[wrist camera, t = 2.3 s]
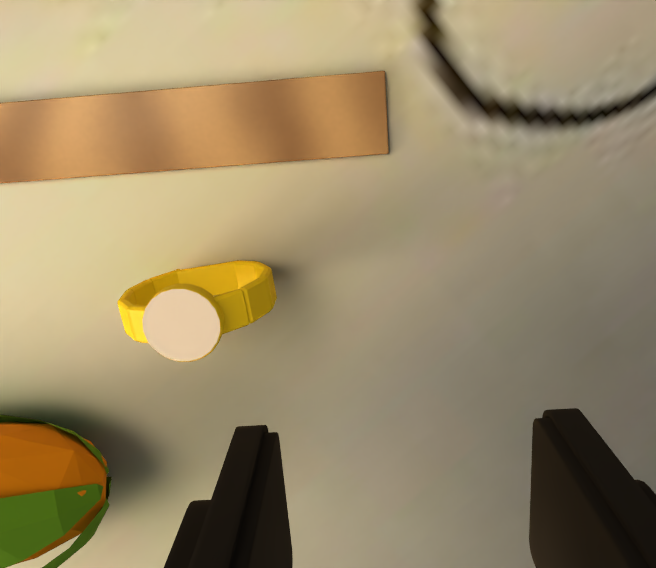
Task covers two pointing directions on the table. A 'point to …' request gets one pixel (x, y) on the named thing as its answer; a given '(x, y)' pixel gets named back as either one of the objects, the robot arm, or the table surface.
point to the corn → (47, 490)
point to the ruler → (194, 127)
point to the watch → (196, 306)
